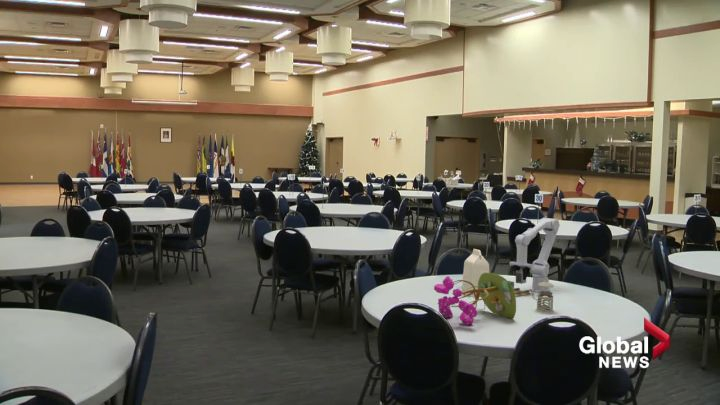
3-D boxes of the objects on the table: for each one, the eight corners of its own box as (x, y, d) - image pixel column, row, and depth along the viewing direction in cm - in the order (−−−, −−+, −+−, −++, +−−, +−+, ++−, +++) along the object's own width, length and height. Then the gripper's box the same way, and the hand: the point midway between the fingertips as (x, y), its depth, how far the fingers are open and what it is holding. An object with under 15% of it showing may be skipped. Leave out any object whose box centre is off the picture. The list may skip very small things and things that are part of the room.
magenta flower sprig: (512, 259, 310) (454, 276, 293) (527, 318, 308) (470, 337, 291) (474, 265, 336) (419, 280, 319) (488, 319, 334) (433, 337, 317)
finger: (526, 282, 373) (526, 270, 372) (521, 283, 369) (521, 271, 368) (519, 281, 376) (520, 269, 375) (515, 282, 372) (515, 270, 371)
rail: (517, 291, 381) (517, 277, 381) (530, 294, 373) (531, 280, 373) (496, 294, 370) (497, 281, 370) (510, 298, 363) (510, 284, 362)
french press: (551, 314, 327) (553, 265, 325) (529, 311, 333) (530, 263, 331) (557, 310, 335) (559, 263, 333) (534, 307, 341) (536, 260, 339)
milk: (461, 293, 374) (462, 248, 372) (479, 291, 377) (480, 247, 375) (471, 297, 363) (472, 251, 360) (489, 296, 366) (491, 251, 364)
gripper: (507, 254, 374) (506, 278, 375) (529, 258, 364) (528, 281, 365) (513, 253, 379) (512, 276, 380) (535, 256, 369) (535, 280, 370)
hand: (521, 279), depth 373 cm, fingers closed on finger, 4 cm apart
